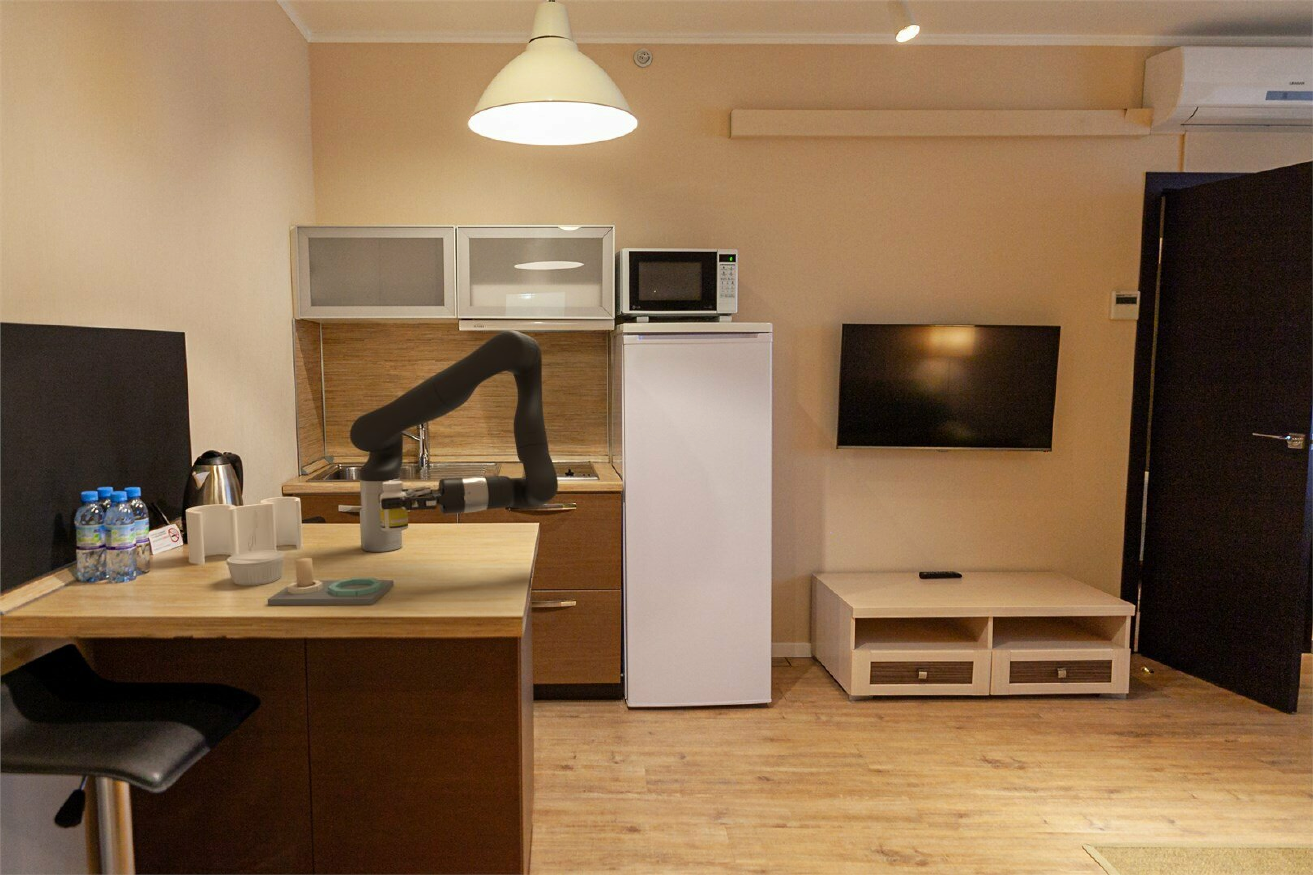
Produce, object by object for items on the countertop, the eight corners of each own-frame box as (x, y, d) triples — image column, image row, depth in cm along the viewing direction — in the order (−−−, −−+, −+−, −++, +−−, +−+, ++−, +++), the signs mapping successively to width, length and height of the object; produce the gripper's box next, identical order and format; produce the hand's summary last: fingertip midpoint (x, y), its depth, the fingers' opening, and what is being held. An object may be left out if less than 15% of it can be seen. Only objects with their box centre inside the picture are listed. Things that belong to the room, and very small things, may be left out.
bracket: (294, 542, 215) (292, 495, 213) (307, 548, 207) (305, 500, 206) (184, 558, 199) (181, 507, 197) (194, 566, 191) (190, 513, 190)
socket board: (267, 605, 162) (265, 568, 161) (297, 586, 174) (295, 551, 174) (372, 604, 161) (370, 568, 161) (393, 585, 174) (392, 551, 174)
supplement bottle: (413, 527, 176) (411, 480, 175) (398, 532, 171) (395, 485, 169) (391, 525, 177) (389, 479, 176) (375, 531, 172) (373, 483, 171)
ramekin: (228, 590, 172) (226, 565, 171) (227, 577, 182) (225, 553, 181) (287, 583, 177) (286, 558, 177) (283, 570, 187) (282, 547, 186)
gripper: (456, 472, 185) (375, 478, 178) (469, 482, 172) (382, 488, 165) (458, 506, 186) (377, 513, 179) (470, 518, 173) (384, 526, 166)
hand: (380, 501), depth 172 cm, fingers closed on supplement bottle, 5 cm apart
